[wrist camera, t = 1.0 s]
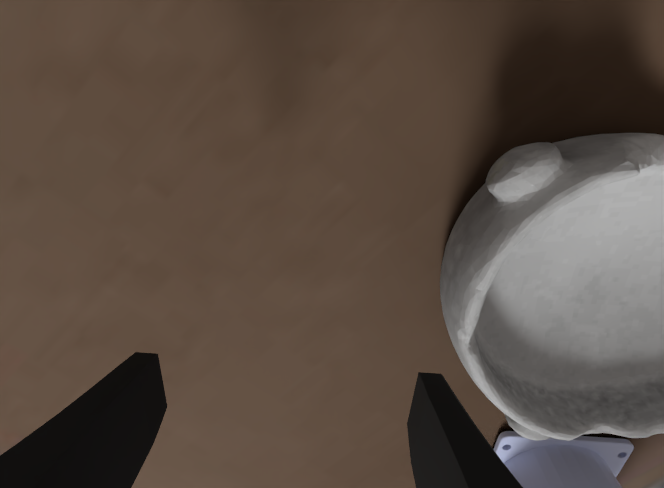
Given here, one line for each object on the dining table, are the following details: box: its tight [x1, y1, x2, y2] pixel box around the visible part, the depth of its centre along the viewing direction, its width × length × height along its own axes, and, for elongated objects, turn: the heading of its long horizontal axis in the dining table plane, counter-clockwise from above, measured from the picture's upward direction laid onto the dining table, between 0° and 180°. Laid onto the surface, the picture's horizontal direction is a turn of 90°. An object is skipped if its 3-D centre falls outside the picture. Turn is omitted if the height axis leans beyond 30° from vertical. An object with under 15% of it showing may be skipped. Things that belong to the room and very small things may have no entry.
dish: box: [440, 133, 664, 441], centre depth 16 cm, size 14×14×5 cm
